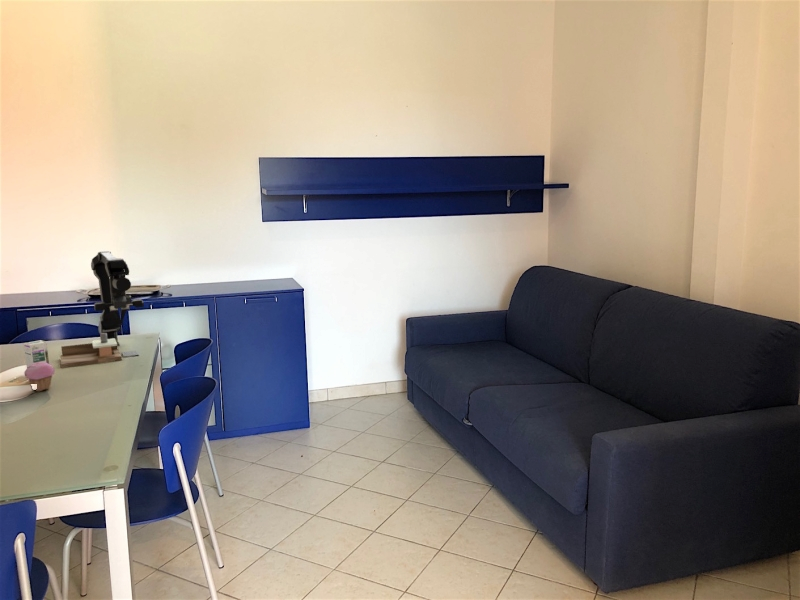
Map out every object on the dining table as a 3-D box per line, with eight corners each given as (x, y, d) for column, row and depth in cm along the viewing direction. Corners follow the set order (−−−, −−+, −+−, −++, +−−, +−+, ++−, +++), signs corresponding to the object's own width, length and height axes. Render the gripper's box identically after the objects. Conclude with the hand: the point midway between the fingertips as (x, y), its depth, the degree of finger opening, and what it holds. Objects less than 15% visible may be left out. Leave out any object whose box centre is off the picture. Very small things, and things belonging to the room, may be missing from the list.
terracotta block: (99, 357, 254) (98, 345, 253) (111, 355, 256) (110, 344, 255) (100, 359, 250) (99, 348, 249) (112, 358, 252) (111, 346, 251)
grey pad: (122, 353, 259) (121, 352, 259) (137, 351, 262) (136, 350, 262) (123, 357, 253) (123, 356, 252) (139, 355, 255) (138, 354, 255)
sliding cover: (92, 342, 257) (90, 332, 256) (115, 339, 261) (114, 329, 260) (93, 348, 246) (92, 337, 246) (117, 345, 251) (116, 335, 250)
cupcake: (47, 384, 216) (44, 357, 214) (61, 388, 212) (58, 361, 210) (21, 391, 209) (18, 363, 207) (35, 395, 204) (32, 367, 203)
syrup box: (34, 383, 218) (30, 344, 215) (27, 380, 221) (23, 342, 219) (51, 379, 222) (47, 341, 220) (44, 376, 226) (40, 339, 223)
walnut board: (61, 358, 252) (60, 346, 251) (118, 351, 262) (117, 339, 262) (61, 367, 238) (59, 354, 237) (121, 360, 249) (120, 347, 248)
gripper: (94, 293, 242) (97, 330, 244) (143, 289, 251) (146, 325, 253) (92, 289, 251) (96, 325, 254) (140, 286, 260) (143, 321, 263)
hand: (121, 324), depth 256 cm, fingers closed
